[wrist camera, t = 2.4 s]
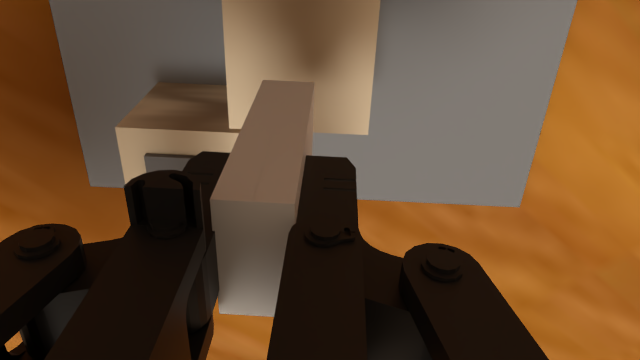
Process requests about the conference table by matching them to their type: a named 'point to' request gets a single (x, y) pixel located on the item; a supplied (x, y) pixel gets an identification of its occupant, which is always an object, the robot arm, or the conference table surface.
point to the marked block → (174, 127)
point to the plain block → (303, 56)
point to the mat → (387, 91)
